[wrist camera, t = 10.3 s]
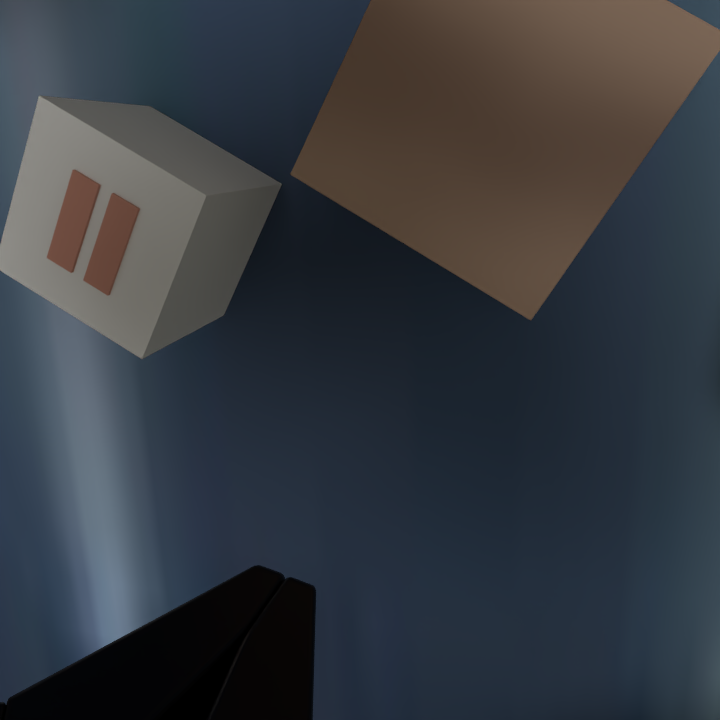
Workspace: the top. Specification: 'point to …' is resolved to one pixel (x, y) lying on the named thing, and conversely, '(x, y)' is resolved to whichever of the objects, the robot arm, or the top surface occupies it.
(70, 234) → the grey block marked
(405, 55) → the walnut block
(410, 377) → the top surface
